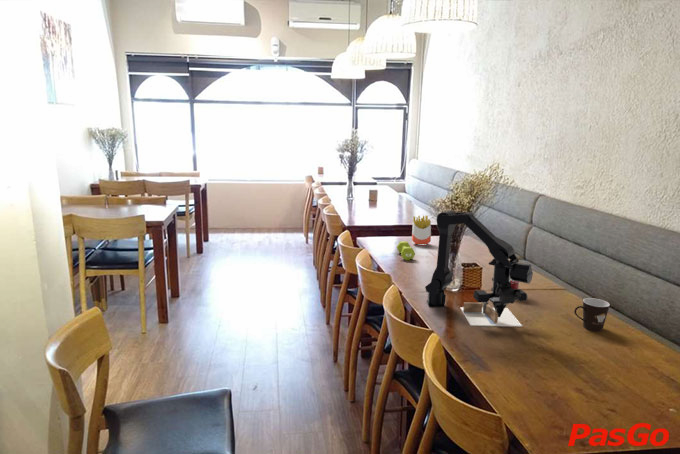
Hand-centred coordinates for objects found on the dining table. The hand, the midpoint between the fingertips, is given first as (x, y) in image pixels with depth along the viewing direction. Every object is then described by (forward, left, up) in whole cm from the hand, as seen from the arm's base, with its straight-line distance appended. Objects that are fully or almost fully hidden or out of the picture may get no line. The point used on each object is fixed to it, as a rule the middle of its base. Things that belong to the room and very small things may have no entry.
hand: (498, 316), depth 176 cm
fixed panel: (-7, +8, -2) cm, 10 cm away
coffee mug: (+32, -3, -2) cm, 32 cm away
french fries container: (-13, +115, -2) cm, 115 cm away
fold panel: (-2, +2, -1) cm, 3 cm away
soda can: (+14, +31, -2) cm, 34 cm away
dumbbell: (-26, +88, -3) cm, 91 cm away
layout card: (-2, +5, -2) cm, 5 cm away
